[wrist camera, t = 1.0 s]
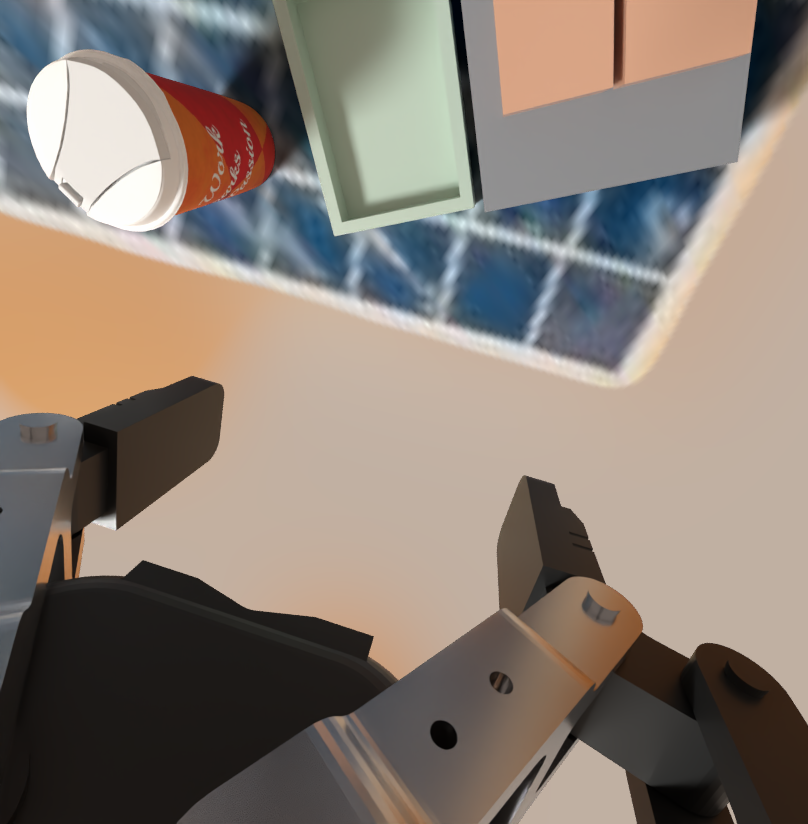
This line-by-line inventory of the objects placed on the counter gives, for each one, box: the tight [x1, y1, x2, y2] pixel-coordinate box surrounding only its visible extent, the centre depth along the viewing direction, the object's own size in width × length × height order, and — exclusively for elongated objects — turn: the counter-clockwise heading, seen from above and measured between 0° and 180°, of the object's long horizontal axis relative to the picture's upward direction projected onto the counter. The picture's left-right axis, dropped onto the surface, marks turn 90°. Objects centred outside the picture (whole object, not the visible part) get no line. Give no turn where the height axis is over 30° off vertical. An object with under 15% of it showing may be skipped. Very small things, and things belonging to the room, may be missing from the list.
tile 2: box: [613, 0, 757, 90], centre depth 20 cm, size 5×5×2 cm
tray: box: [272, 0, 476, 236], centre depth 29 cm, size 14×10×2 cm
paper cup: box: [27, 49, 275, 231], centre depth 27 cm, size 8×8×14 cm
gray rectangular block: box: [461, 0, 753, 212], centre depth 25 cm, size 14×13×6 cm
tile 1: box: [493, 0, 614, 117], centre depth 22 cm, size 5×5×2 cm
